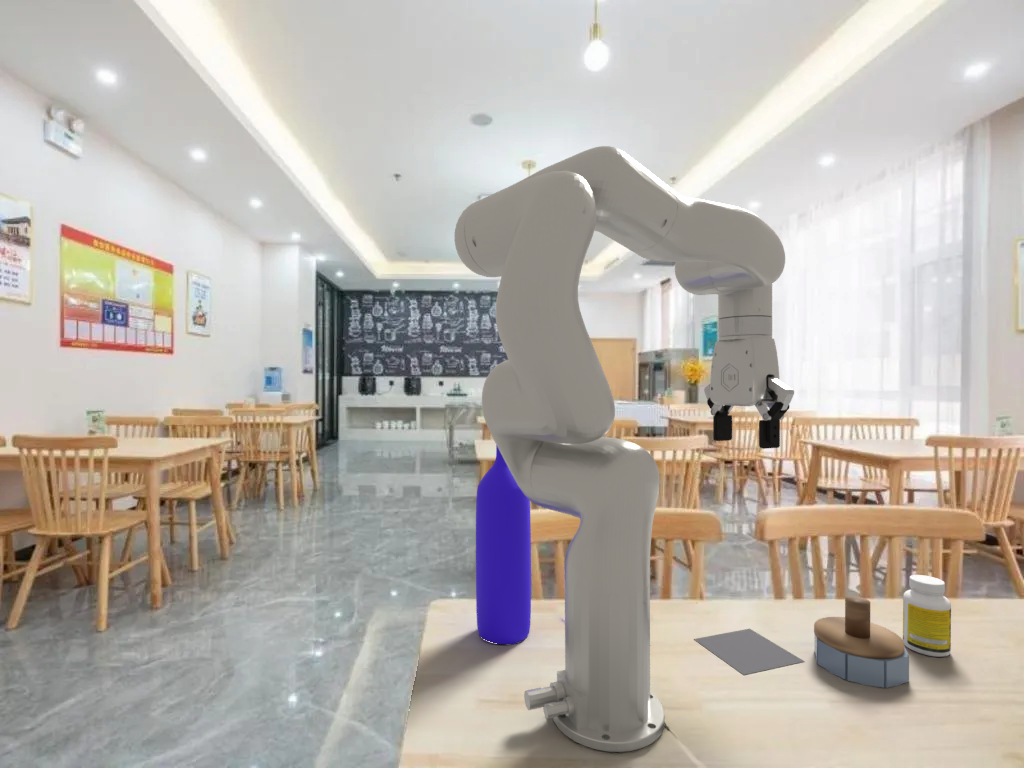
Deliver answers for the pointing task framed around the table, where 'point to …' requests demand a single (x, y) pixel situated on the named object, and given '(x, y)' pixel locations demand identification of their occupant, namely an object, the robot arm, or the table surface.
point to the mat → (748, 651)
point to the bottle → (502, 557)
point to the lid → (858, 633)
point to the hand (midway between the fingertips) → (744, 443)
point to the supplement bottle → (927, 617)
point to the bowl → (863, 667)
